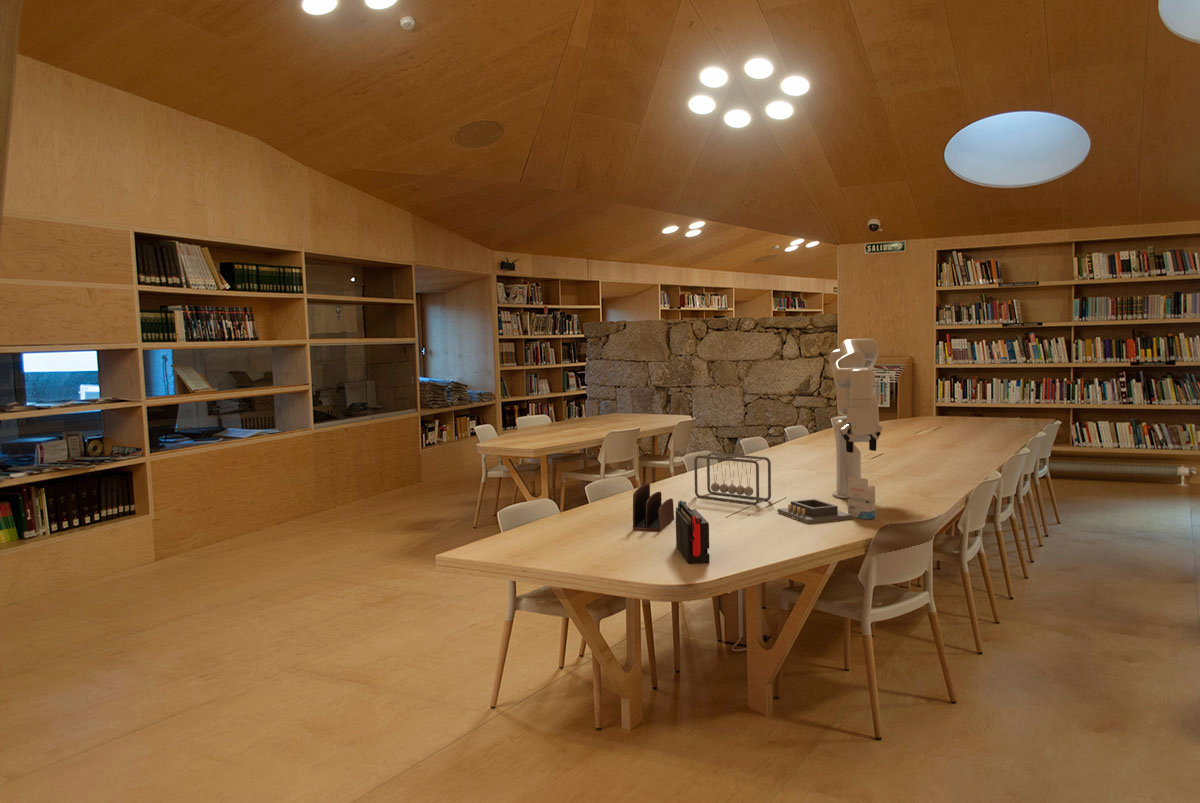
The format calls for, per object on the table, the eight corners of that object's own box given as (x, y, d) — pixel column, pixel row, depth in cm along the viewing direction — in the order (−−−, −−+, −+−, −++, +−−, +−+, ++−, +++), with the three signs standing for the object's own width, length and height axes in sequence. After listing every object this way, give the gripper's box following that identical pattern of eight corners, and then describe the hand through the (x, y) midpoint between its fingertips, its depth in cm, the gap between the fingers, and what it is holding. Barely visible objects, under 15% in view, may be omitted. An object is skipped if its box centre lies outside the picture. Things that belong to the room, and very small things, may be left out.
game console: (674, 543, 262) (673, 499, 261) (693, 543, 262) (692, 498, 261) (690, 568, 234) (689, 518, 233) (712, 567, 235) (711, 517, 233)
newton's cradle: (694, 497, 336) (693, 455, 335) (708, 493, 344) (707, 452, 343) (758, 505, 317) (757, 460, 315) (771, 501, 325) (771, 457, 323)
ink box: (876, 517, 291) (875, 477, 290) (868, 520, 288) (868, 479, 286) (855, 514, 297) (855, 474, 296) (847, 516, 294) (847, 476, 293)
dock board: (819, 508, 309) (819, 496, 308) (851, 518, 290) (851, 506, 290) (777, 512, 303) (777, 500, 303) (807, 523, 284) (807, 511, 284)
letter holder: (632, 530, 282) (631, 490, 281) (648, 518, 300) (647, 480, 299) (660, 532, 278) (659, 491, 277) (674, 519, 297) (673, 481, 296)
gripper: (874, 401, 296) (874, 448, 297) (834, 404, 290) (834, 451, 291) (888, 403, 288) (888, 451, 290) (847, 405, 283) (847, 454, 284)
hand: (861, 451), depth 290 cm, fingers open, 9 cm apart
